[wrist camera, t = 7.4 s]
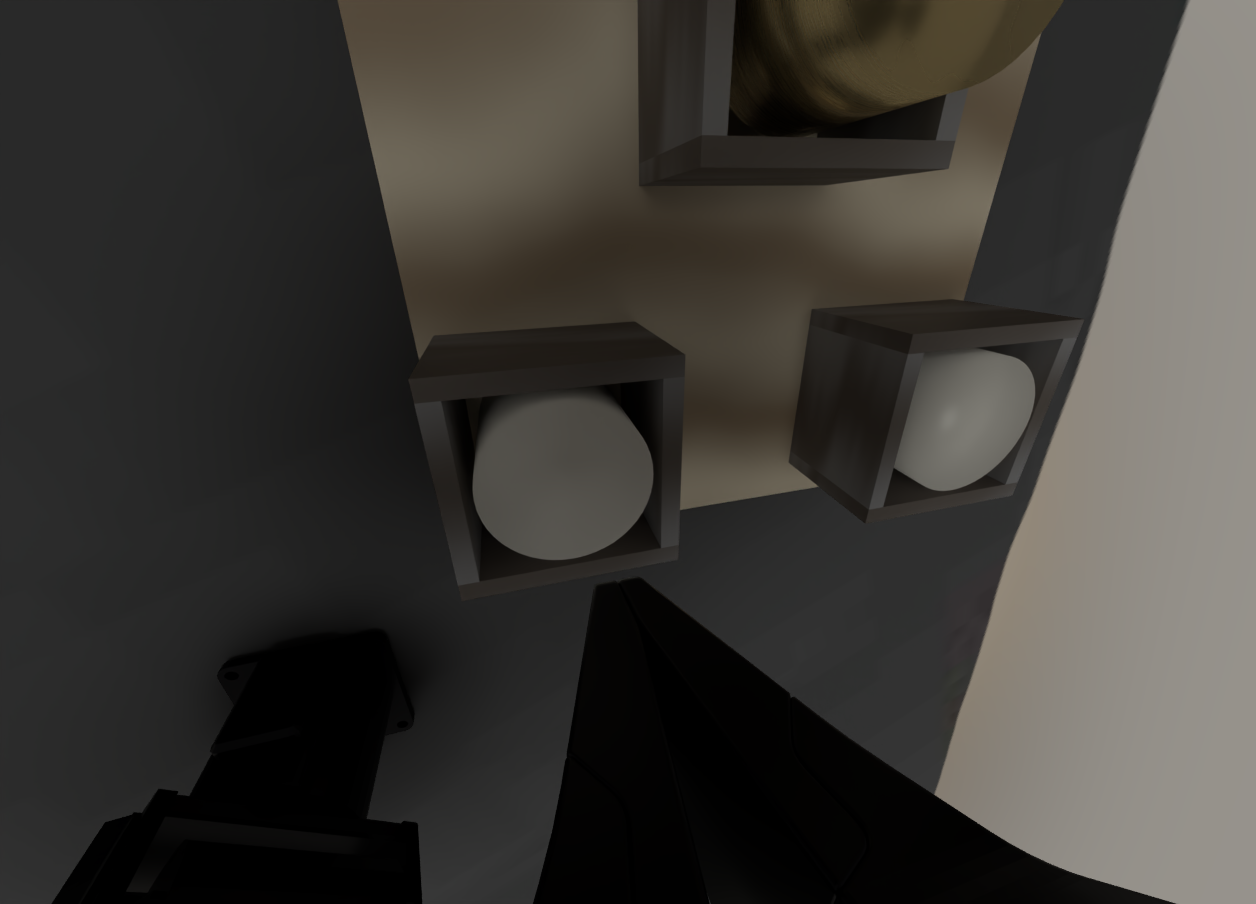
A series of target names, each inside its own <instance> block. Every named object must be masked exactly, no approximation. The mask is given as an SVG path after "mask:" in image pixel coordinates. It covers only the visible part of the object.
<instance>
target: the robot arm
mask: <svg viewBox="0 0 1256 904" xmlns="http://www.w3.org/2000/svg"><path fill="white" fill-rule="evenodd" d="M372 643H377V644H372ZM217 677H218V680H219V681H220V683H221V685H222V686H223V688H224V689H225V691H226V693H227V694H228V696H229V698H230V699H231V701H232V702H233V704H234V707H233V708H232V710H231V712H230V714H229V716H228V718H227V719H226V721H225V723H224V725H223V727H222V729H221V730H220V732H219V734H218V736H217V738H216V739H215V741H214V743H213V745H212V747H211V750H210V752H211V753H212V755H211V756H210V758H209V760H208V762H207V764H206V766H205V768H204V769H203V771H202V773H201V775H200V777H199V779H198V781H197V782H196V784H195V786H194V788H193V790H192V792H191V793H190V795H189V796H183V795H177V793H178V791H172V790H164V789H158V790H157V792H156V793H155V795H154V796H153V798H152V799H151V800H150V802H149V803H148V805H147V806H146V808H145V809H144V811H143V812H142V813H136V812H134V813H133V814H132V815H129V816H126V817H122V818H119V819H115V820H112V821H109V822H105V823H104V825H103V826H102V828H101V829H100V831H99V832H98V834H97V835H96V837H95V838H94V840H93V841H92V843H91V844H90V846H89V847H88V849H87V850H86V852H85V854H84V855H83V857H82V858H81V860H80V861H79V863H78V864H77V866H76V867H75V869H74V870H73V872H72V873H71V875H70V876H69V878H68V879H67V881H66V882H65V884H64V885H63V887H62V888H61V890H60V892H59V893H58V895H57V896H56V898H55V899H54V901H53V902H52V904H422V890H421V872H420V855H419V837H418V824H417V823H416V822H408V821H403V822H402V823H393V822H386V821H378V820H370V819H367V815H368V810H369V806H370V801H371V796H372V792H373V787H374V783H375V778H376V773H377V769H378V764H379V760H380V755H381V751H382V746H383V741H384V737H385V735H389V734H393V733H397V732H402V731H405V730H408V729H410V728H411V727H412V726H413V723H414V712H413V709H412V707H411V704H410V701H409V698H408V695H407V692H406V690H405V687H404V684H403V681H402V678H401V675H400V673H399V670H398V667H397V664H396V661H395V659H394V656H393V653H392V650H391V647H390V644H389V642H388V639H387V637H386V635H385V634H383V633H380V632H370V633H365V634H360V635H355V636H350V637H345V638H340V639H335V640H330V641H325V642H320V643H315V644H310V645H305V646H300V647H295V648H290V649H285V650H280V651H275V652H270V653H265V654H259V655H254V656H249V657H244V658H239V659H234V660H230V661H227V662H226V663H224V664H223V666H222V667H221V669H220V671H219V672H218V675H217ZM707 895H708V896H707ZM708 897H709V900H710V903H711V904H1175V903H1172V902H1169V901H1165V900H1162V899H1159V898H1155V897H1152V896H1148V895H1145V894H1142V893H1138V892H1135V891H1131V890H1128V889H1124V888H1121V887H1118V886H1114V885H1111V884H1108V883H1104V882H1100V881H1097V880H1094V879H1091V878H1087V877H1084V876H1081V875H1077V874H1075V873H1072V872H1069V871H1066V870H1064V869H1062V868H1059V867H1056V866H1054V865H1051V864H1049V863H1047V862H1045V861H1043V860H1041V859H1039V858H1036V857H1034V856H1032V855H1030V854H1028V853H1026V852H1025V851H1023V850H1021V849H1019V848H1017V847H1015V846H1013V845H1012V844H1010V843H1008V842H1007V841H1005V840H1003V839H1001V838H1000V837H998V836H997V835H995V834H994V833H992V832H990V831H989V830H987V829H986V828H984V827H983V826H981V825H980V824H978V823H977V822H975V821H973V820H972V819H970V818H969V817H967V816H966V815H964V814H963V813H961V812H960V811H958V810H957V809H955V808H954V807H952V806H950V805H949V804H947V803H946V802H944V801H943V800H941V799H940V798H938V797H937V796H935V795H934V794H932V793H931V792H929V791H928V790H926V789H925V788H923V787H921V786H920V785H918V784H917V783H915V782H914V781H912V780H911V779H909V778H908V777H906V776H905V775H903V774H902V773H900V772H899V771H897V770H895V769H894V768H892V767H891V766H889V765H888V764H886V763H885V762H883V761H882V760H881V759H879V758H878V757H876V756H875V755H873V754H872V753H870V752H869V751H867V750H866V749H864V748H863V747H861V746H860V745H859V744H857V743H856V742H854V741H853V740H851V739H850V738H848V737H847V736H846V735H844V734H843V733H842V732H840V731H839V730H838V729H836V728H835V727H834V726H832V725H831V724H829V723H828V722H827V721H825V720H824V719H823V718H821V717H820V716H819V715H817V714H816V713H815V712H813V711H812V710H811V709H810V708H808V707H807V706H806V705H804V704H803V703H802V702H801V701H799V700H798V699H797V698H795V697H792V698H791V696H790V693H789V692H787V691H786V690H785V689H784V688H782V687H781V686H780V685H778V684H777V683H776V682H775V681H773V680H772V679H771V678H769V677H768V676H767V675H766V674H764V673H763V672H762V671H760V670H759V669H758V668H757V667H755V666H754V665H753V664H751V663H750V662H749V661H748V660H746V659H745V658H744V657H742V656H741V655H740V654H739V653H737V652H736V651H735V650H733V649H732V648H731V647H730V646H728V645H727V644H726V643H724V642H723V641H722V640H721V639H719V638H718V637H717V636H715V635H714V634H713V633H712V632H710V631H709V630H708V629H706V628H705V627H704V626H703V625H701V624H700V623H699V622H697V621H696V620H695V619H694V618H692V617H691V616H690V615H688V614H687V613H686V612H685V611H683V610H682V609H681V608H679V607H678V606H677V605H676V604H674V603H673V602H672V601H670V600H669V599H668V598H667V597H665V596H664V595H663V594H661V593H660V592H659V591H658V590H656V589H655V588H654V587H652V586H651V585H650V584H649V583H647V582H646V581H645V580H643V579H642V578H640V577H631V578H625V579H621V580H619V581H618V583H617V582H616V581H609V582H603V583H598V584H596V585H595V586H594V591H593V597H592V603H591V609H590V615H589V621H588V627H587V633H586V640H585V646H584V652H583V658H582V664H581V670H580V676H579V682H578V688H577V694H576V700H575V706H574V712H573V719H572V725H571V731H570V737H569V743H568V749H567V759H566V760H565V765H564V771H563V777H562V784H561V789H560V794H559V800H558V805H557V810H556V815H555V820H554V825H553V830H552V834H551V838H550V842H549V845H548V849H547V853H546V857H545V861H544V865H543V869H542V873H541V876H540V880H539V884H538V888H537V891H536V895H535V898H534V902H533V904H709V900H708Z"/></svg>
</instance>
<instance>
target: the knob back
mask: <svg viewBox="0 0 1256 904" xmlns="http://www.w3.org/2000/svg"><path fill="white" fill-rule="evenodd" d="M1034 399H1035V383H1034V378H1033V375H1032V373H1031V371H1030V369H1029V368H1028V366H1027V365H1026V364H1025V363H1024V362H1022V361H1021V360H1019V359H1017V358H1015V357H1012V356H1008V355H1004V354H999V353H995V352H991V351H987V350H983V349H979V348H967V349H957V350H947V351H937V352H927V353H924V356H923V360H922V364H921V368H920V371H919V375H918V379H917V382H916V386H915V390H914V394H913V397H912V401H911V405H910V409H909V412H908V416H907V420H906V424H905V427H904V431H903V435H902V438H901V442H900V446H899V450H898V453H897V457H896V461H895V465H894V468H895V469H896V470H898V471H900V472H901V473H903V474H905V475H906V476H908V477H910V478H911V479H913V480H915V481H916V482H918V483H920V484H921V485H923V486H925V487H927V488H929V489H932V490H937V491H948V490H954V489H958V488H961V487H964V486H967V485H969V484H971V483H973V482H975V481H976V480H978V479H980V478H981V477H983V476H984V475H986V474H987V473H988V472H990V471H991V470H992V469H993V468H994V467H996V466H997V465H998V464H999V463H1000V462H1001V461H1002V460H1003V459H1004V458H1005V457H1006V456H1007V454H1008V453H1009V452H1010V451H1011V450H1012V448H1013V447H1014V446H1015V444H1016V443H1017V441H1018V440H1019V438H1020V437H1021V435H1022V433H1023V431H1024V429H1025V428H1026V425H1027V423H1028V421H1029V419H1030V416H1031V413H1032V409H1033V405H1034Z"/></svg>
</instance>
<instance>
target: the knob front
mask: <svg viewBox="0 0 1256 904" xmlns="http://www.w3.org/2000/svg"><path fill="white" fill-rule="evenodd" d="M652 485H653V463H652V459H651V454H650V452H649V449H648V446H647V444H646V443H645V441H644V439H643V437H642V436H641V434H640V433H639V431H638V430H637V429H636V427H635V426H634V424H633V423H632V422H631V420H630V419H629V417H628V416H627V415H626V413H625V412H624V410H623V409H622V408H621V406H620V405H619V403H618V402H617V400H616V399H615V398H614V396H613V395H612V393H611V392H610V391H609V389H608V388H607V386H606V385H597V386H587V387H577V388H567V389H557V390H547V391H537V392H527V393H518V394H508V395H498V396H488V397H483V398H482V401H481V404H480V409H479V417H478V428H477V439H476V451H475V462H474V473H473V498H474V503H475V507H476V510H477V513H478V515H479V517H480V519H481V521H482V523H483V524H484V526H485V527H486V529H487V530H488V531H489V532H490V533H491V534H492V535H493V537H495V538H496V539H497V540H498V541H499V542H501V543H502V544H503V545H505V546H506V547H508V548H510V549H511V550H514V551H516V552H518V553H520V554H523V555H526V556H529V557H533V558H538V559H546V560H565V559H573V558H578V557H582V556H586V555H589V554H592V553H594V552H597V551H599V550H601V549H603V548H605V547H607V546H609V545H610V544H612V543H614V542H615V541H616V540H618V539H619V538H620V537H622V536H623V535H624V534H625V533H626V532H627V531H628V530H629V529H630V528H631V527H632V526H633V525H634V524H635V522H636V521H637V520H638V518H639V517H640V515H641V514H642V512H643V511H644V509H645V507H646V505H647V502H648V500H649V497H650V494H651V490H652Z"/></svg>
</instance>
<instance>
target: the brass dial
mask: <svg viewBox="0 0 1256 904" xmlns="http://www.w3.org/2000/svg"><path fill="white" fill-rule="evenodd" d="M1063 1H1064V0H736V4H735V20H734V36H733V52H732V68H731V84H730V100H729V107H730V108H731V109H732V111H733V112H734V113H735V115H736V116H737V117H738V118H739V119H740V120H741V121H742V122H743V123H744V124H746V125H747V126H749V127H750V128H751V129H753V130H754V131H756V132H758V133H760V134H762V135H764V136H768V137H806V136H809V135H812V134H816V133H819V132H822V131H826V130H829V129H832V128H836V127H839V126H842V125H846V124H849V123H852V122H856V121H859V120H862V119H866V118H869V117H872V116H876V115H879V114H882V113H886V112H889V111H892V110H896V109H899V108H902V107H906V106H909V105H912V104H916V103H919V102H922V101H926V100H929V99H932V98H936V97H939V96H942V95H946V94H949V93H952V92H956V91H959V90H962V89H966V88H969V87H972V86H974V85H976V84H979V83H981V82H984V81H986V80H987V79H989V78H991V77H992V76H994V75H996V74H997V73H999V72H1001V71H1002V70H1003V69H1004V68H1006V67H1007V66H1008V65H1009V64H1011V63H1012V62H1013V61H1015V60H1016V59H1017V58H1018V57H1019V56H1020V55H1021V54H1022V53H1023V52H1024V51H1025V50H1026V49H1027V48H1028V47H1029V46H1030V45H1031V44H1032V43H1033V42H1034V40H1035V39H1036V38H1037V37H1038V36H1039V35H1040V33H1041V32H1042V31H1043V30H1044V29H1045V27H1046V26H1047V24H1048V23H1049V22H1050V20H1051V19H1052V17H1053V16H1054V15H1055V13H1056V12H1057V10H1058V9H1059V7H1060V6H1061V4H1062V2H1063Z"/></svg>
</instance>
